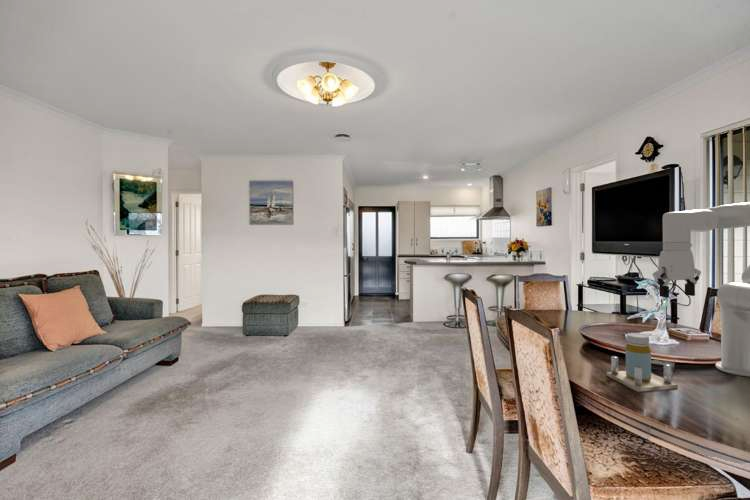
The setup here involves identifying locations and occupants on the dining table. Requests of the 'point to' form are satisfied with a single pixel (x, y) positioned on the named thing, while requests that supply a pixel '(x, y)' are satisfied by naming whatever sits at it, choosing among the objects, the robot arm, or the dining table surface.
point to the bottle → (638, 355)
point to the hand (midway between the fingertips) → (677, 296)
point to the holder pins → (639, 372)
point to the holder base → (650, 385)
